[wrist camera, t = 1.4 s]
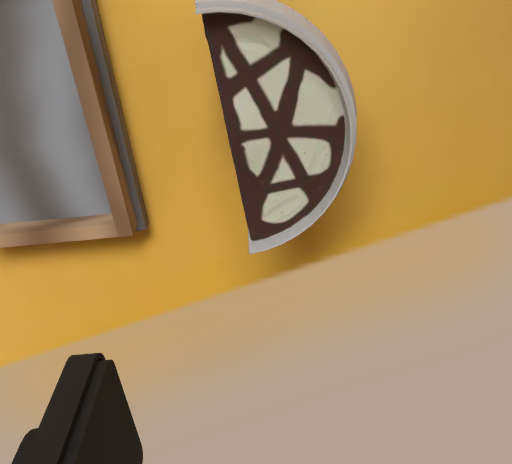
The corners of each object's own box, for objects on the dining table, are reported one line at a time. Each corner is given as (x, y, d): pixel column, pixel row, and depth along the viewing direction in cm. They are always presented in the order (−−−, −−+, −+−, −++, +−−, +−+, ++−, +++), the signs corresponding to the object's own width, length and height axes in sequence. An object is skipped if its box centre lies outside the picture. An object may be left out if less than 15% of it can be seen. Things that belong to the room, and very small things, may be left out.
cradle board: (77, -76, 25) (62, -77, 23) (148, 222, 35) (142, 241, 33) (-146, -51, 26) (-182, -50, 24) (-17, 237, 35) (-34, 257, 33)
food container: (339, 163, 33) (373, 243, 24) (249, 179, 33) (251, 263, 25) (319, -45, 26) (355, -37, 18) (208, -22, 27) (191, -4, 18)
